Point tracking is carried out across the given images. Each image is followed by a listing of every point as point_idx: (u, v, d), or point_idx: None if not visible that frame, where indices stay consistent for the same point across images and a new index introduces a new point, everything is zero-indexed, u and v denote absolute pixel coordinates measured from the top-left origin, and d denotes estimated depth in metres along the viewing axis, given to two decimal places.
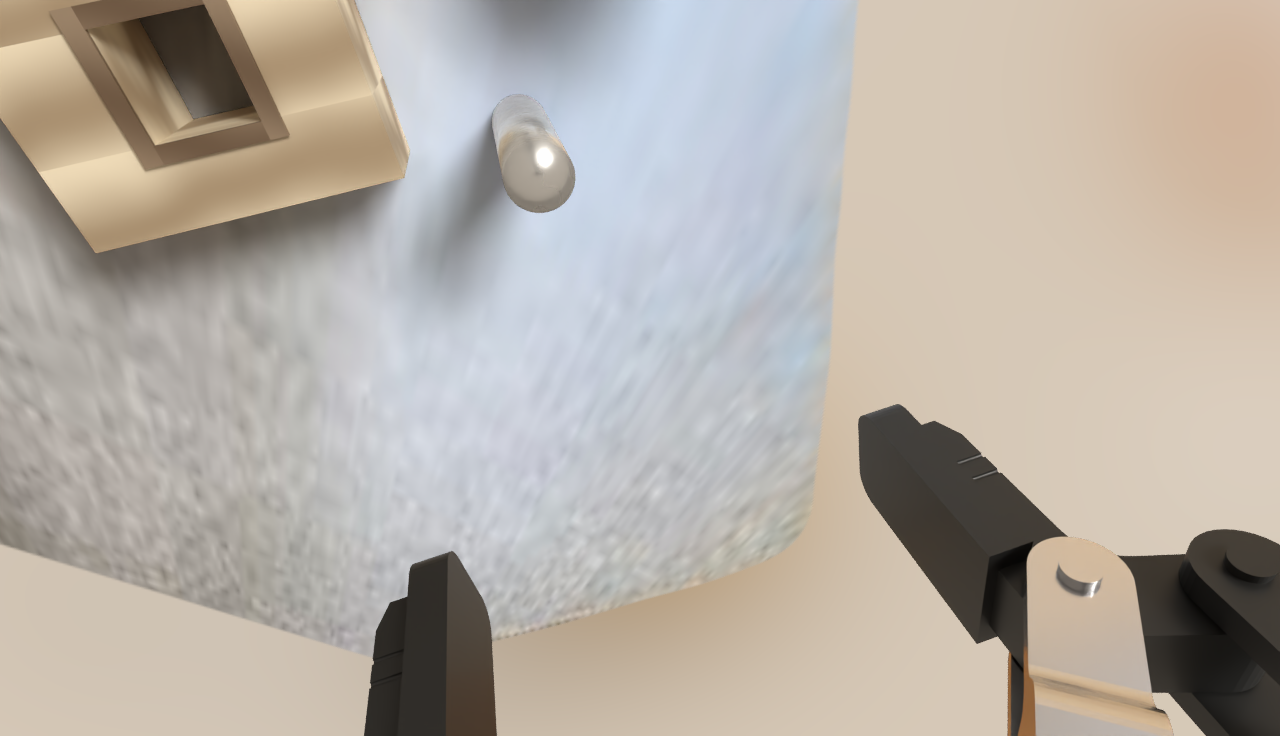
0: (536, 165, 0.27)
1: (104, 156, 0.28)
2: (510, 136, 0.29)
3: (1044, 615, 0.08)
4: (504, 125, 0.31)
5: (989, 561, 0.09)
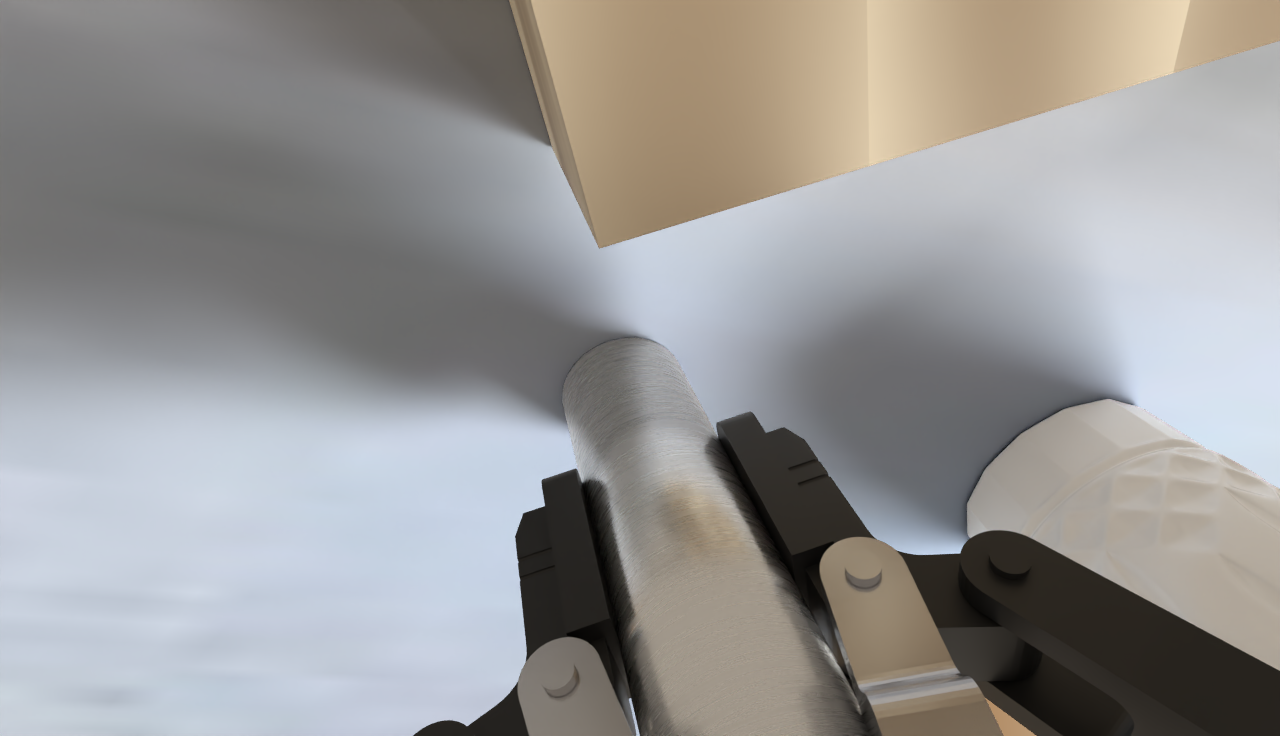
0: None
1: None
2: (811, 623, 0.09)
3: (851, 623, 0.09)
4: (743, 497, 0.11)
5: (793, 559, 0.10)
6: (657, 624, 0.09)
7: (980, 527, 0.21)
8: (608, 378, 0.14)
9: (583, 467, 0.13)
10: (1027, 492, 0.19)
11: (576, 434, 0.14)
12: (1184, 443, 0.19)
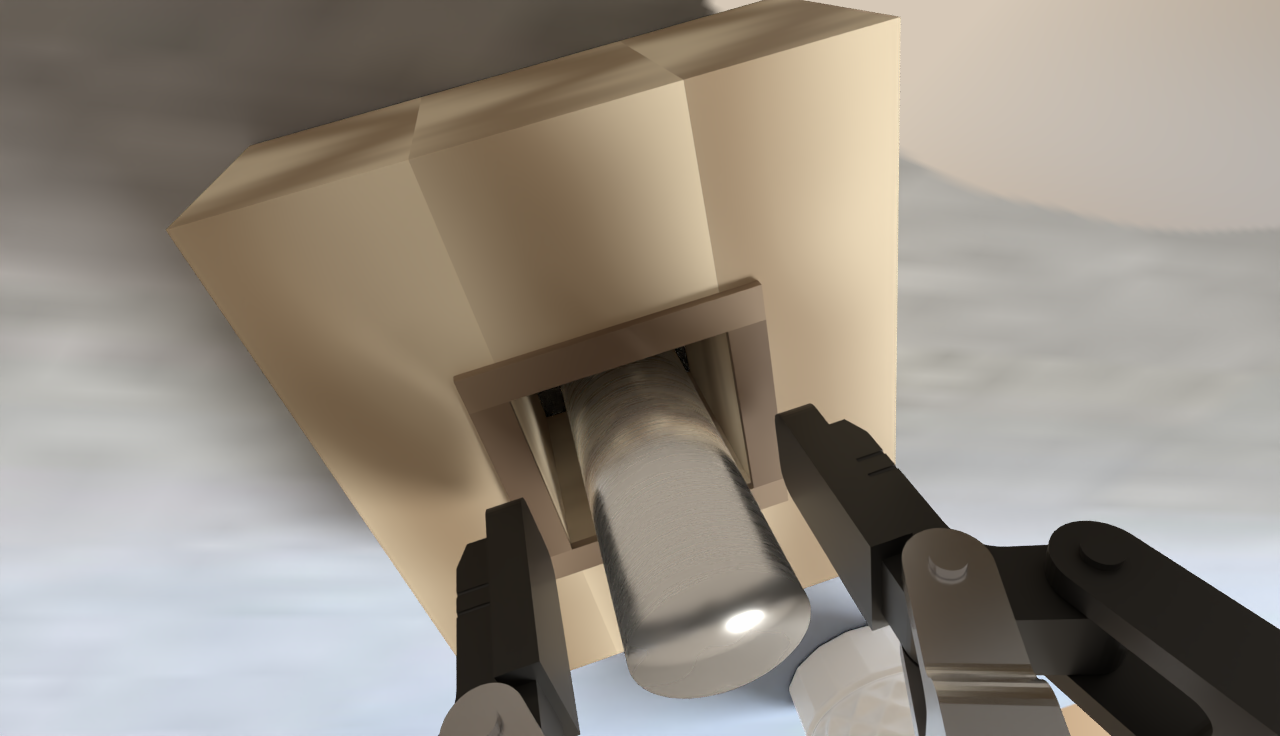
0: (751, 627, 0.10)
1: (471, 305, 0.12)
2: (741, 480, 0.12)
3: (927, 610, 0.09)
4: (694, 397, 0.14)
5: (871, 551, 0.10)
6: (618, 479, 0.12)
7: (795, 706, 0.30)
8: None
9: None
10: (815, 694, 0.29)
11: None
12: None
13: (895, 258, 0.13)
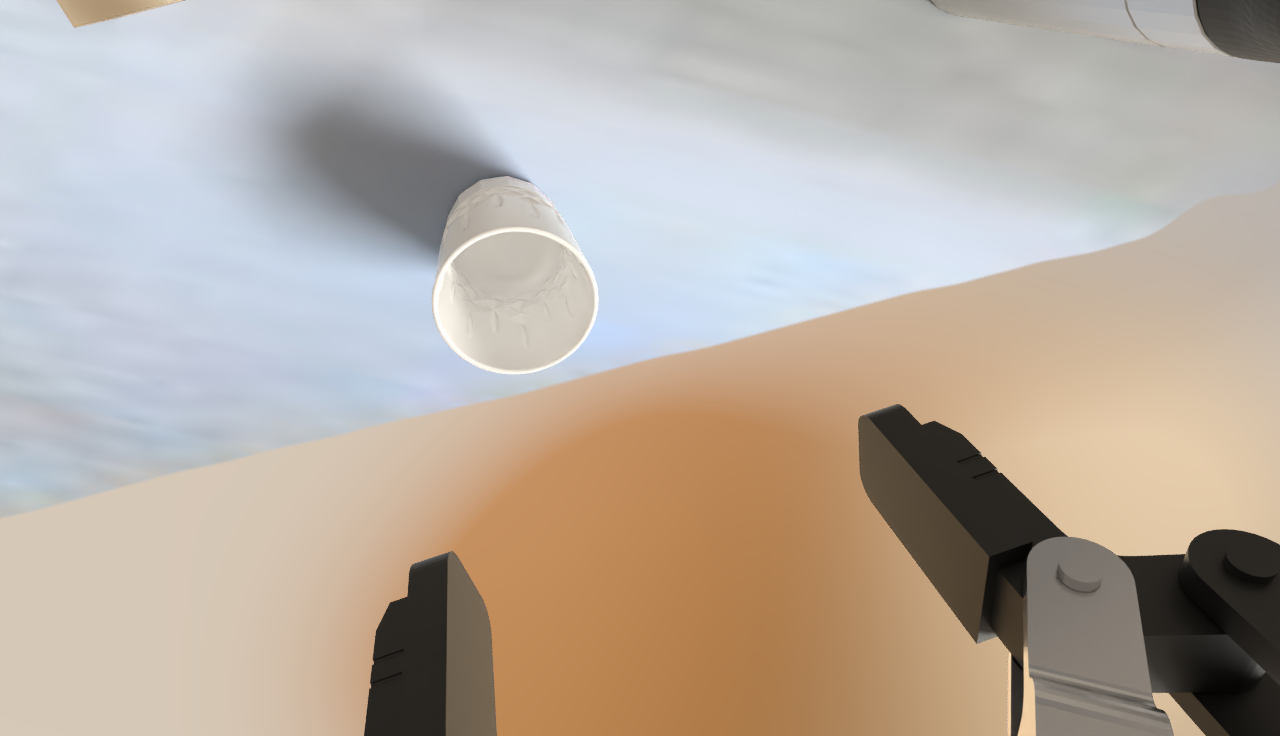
0: None
1: None
2: None
3: (1045, 615, 0.08)
4: None
5: (989, 561, 0.09)
6: None
7: None
8: None
9: None
10: None
11: None
12: (517, 188, 0.36)
13: None
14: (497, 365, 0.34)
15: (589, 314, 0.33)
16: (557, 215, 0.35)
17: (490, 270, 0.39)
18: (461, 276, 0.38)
